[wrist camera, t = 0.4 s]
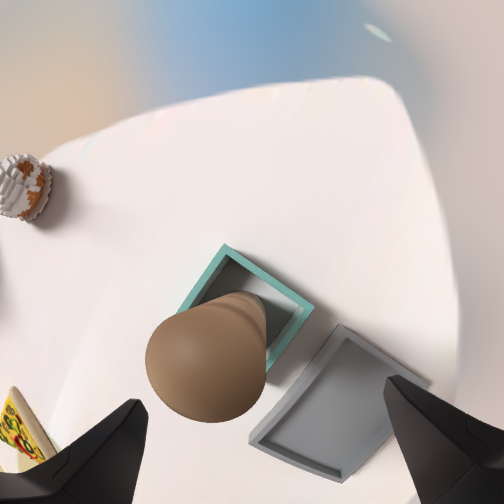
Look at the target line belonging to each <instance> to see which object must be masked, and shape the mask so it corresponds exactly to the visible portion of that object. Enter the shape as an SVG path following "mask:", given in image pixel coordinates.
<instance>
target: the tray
mask: <svg viewBox="0 0 504 504" xmlns="http://www.w3.org/2000/svg"><path fill="white" fill-rule="evenodd" d="M394 374H399V375H401V376H402V377H404V378H406V379H407V380H409V381H411V382H413V383H414V384H416V385H418V386H419V387H421V388H423V389H424V390H426V389H427V388H428V386H429V385H430V384H428V383H427V382H425V381H424V380H422V379H421V378H419V377H418V376H416V375H415V374H413V373H412V372H410V371H409V370H408V369H406V368H405V367H403V366H402V365H400V364H399V363H397V362H396V361H394V360H393V359H391V358H390V357H388V356H387V355H385V354H384V353H382V352H381V351H379V350H378V349H376V348H375V347H373V346H372V345H370V344H369V343H367V342H366V341H365V340H363V339H362V338H360V337H359V336H357V335H356V334H354V333H353V332H351V331H350V330H348V329H347V328H345V327H344V326H342V325H341V324H338V325H337V327H336V328H335V330H334V331H333V333H332V334H331V335H330V337H329V338H328V340H327V341H326V342H325V344H324V345H323V347H322V348H321V349H320V351H319V352H318V353H317V355H316V356H315V357H314V359H313V360H312V361H311V363H310V364H309V365H308V366H307V368H306V369H305V370H304V372H303V373H302V374H301V375H300V377H299V378H298V379H297V380H296V382H295V383H294V384H293V385H292V386H291V388H290V389H289V390H288V391H287V392H286V394H285V395H284V396H283V397H282V398H281V400H280V401H279V402H278V403H277V404H276V405H275V406H274V408H273V409H272V410H271V411H270V412H269V413H268V414H267V415H266V417H265V418H264V419H263V420H262V421H261V422H260V423H259V424H258V425H257V426H256V427H255V428H254V430H253V431H252V432H251V433H250V435H249V443H248V444H249V445H251V446H253V447H255V448H257V449H259V450H261V451H263V452H265V453H267V454H269V455H271V456H273V457H275V458H278V459H280V460H282V461H284V462H286V463H289V464H291V465H293V466H296V467H298V468H300V469H303V470H305V471H308V472H310V473H313V474H315V475H318V476H321V477H324V478H326V479H329V480H332V481H335V482H338V483H341V484H342V483H343V482H344V481H345V480H346V479H348V478H349V477H350V476H351V475H352V474H353V473H354V472H355V471H356V470H357V469H359V468H360V467H361V466H362V465H363V464H364V463H365V462H366V461H367V460H368V459H369V458H370V457H371V456H372V455H373V454H374V453H375V452H376V451H377V450H378V449H379V447H380V446H381V445H382V444H383V443H384V442H385V441H386V440H387V439H388V438H389V436H390V435H391V434H392V433H393V432H394V431H393V428H392V425H391V421H390V418H389V414H388V411H387V407H386V404H385V400H384V397H383V391H384V387H385V382H386V379H387V377H388V376H391V375H394Z"/></svg>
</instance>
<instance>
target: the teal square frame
mask: <svg viewBox="0 0 504 504" xmlns="http://www.w3.org/2000/svg"><path fill="white" fill-rule="evenodd" d="M230 257H231V258H232V259H234V260H235V261H237V262H238V263H239V264H241V265H242V266H244V267H245V268H247V269H248V270H249V271H251V272H252V273H254V274H255V275H257V276H258V277H259V278H261V279H262V280H264V281H265V282H267V283H268V284H269V285H271V286H272V287H274V288H275V289H277V290H278V291H280V292H281V293H282V294H284V295H285V296H287V297H288V298H290V299H291V300H293V301H294V302H296V303H297V304H298V305H299V307H298V308H297V310H296V311H295V312H294V314H293V315H292V317H291V318H290V319H289V321H288V322H287V324H286V325H285V326H284V328H283V329H282V331H281V332H280V333H279V335H278V336H277V337H276V339H275V340H274V341H273V343H272V344H271V345H270V347H269V348H268V349H267V351H266V372H267V371H268V370H269V368H270V367H271V366H272V365H273V363H274V362H275V361H276V359H277V358H278V357H279V356H280V354H281V353H282V352H283V350H284V349H285V348H286V346H287V345H288V344H289V342H290V341H291V340H292V338H293V337H294V336H295V334H296V333H297V331H298V330H299V329H300V327H301V326H302V324H303V323H304V322H305V320H306V319H307V317H308V316H309V315H310V313H311V312H312V310H313V309H314V307H315V306H314V305H312V304H311V303H309V302H308V301H306V300H305V299H304V298H302V297H301V296H299V295H298V294H296V293H295V292H293V291H292V290H291V289H289V288H288V287H286V286H285V285H283V284H282V283H280V282H279V281H278V280H276V279H275V278H273V277H272V276H270V275H269V274H267V273H266V272H265V271H263V270H262V269H260V268H259V267H257V266H256V265H255V264H253V263H252V262H250V261H249V260H247V259H246V258H245V257H243V256H242V255H240V254H239V253H237V252H236V251H235V250H233V249H232V248H230V247H229V246H227V245H226V244H225V243H224V244H223V246H222V247H221V248H220V250H219V251H218V253H217V254H216V256H215V257H214V258H213V260H212V261H211V263H210V264H209V266H208V267H207V269H206V270H205V271H204V273H203V274H202V276H201V277H200V279H199V280H198V282H197V283H196V285H195V286H194V287H193V289H192V290H191V292H190V293H189V295H188V296H187V298H186V299H185V301H184V302H183V304H182V305H181V307H180V308H179V310H178V311H177V313H180V312H183V311H185V310H188V309H191V308H193V307H196V306H197V305H198V303H199V302H200V301H201V299H202V298H203V296H204V295H205V293H206V292H207V290H208V289H209V288H210V286H211V285H212V283H213V282H214V280H215V279H216V278H217V276H218V275H219V273H220V272H221V270H222V269H223V267H224V266H225V265H226V263H227V262H228V260H229V259H230ZM177 313H176V314H177Z"/></svg>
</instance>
